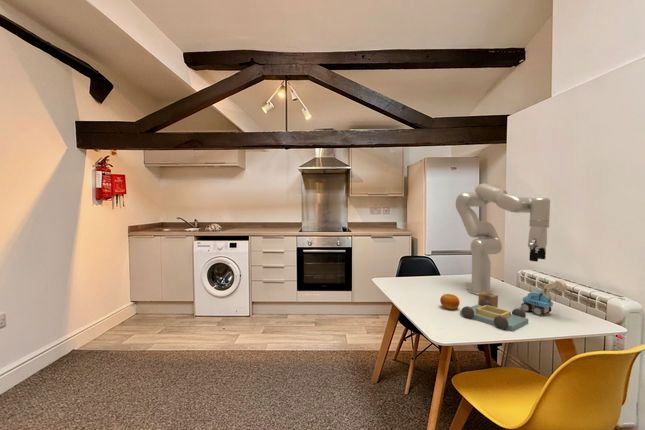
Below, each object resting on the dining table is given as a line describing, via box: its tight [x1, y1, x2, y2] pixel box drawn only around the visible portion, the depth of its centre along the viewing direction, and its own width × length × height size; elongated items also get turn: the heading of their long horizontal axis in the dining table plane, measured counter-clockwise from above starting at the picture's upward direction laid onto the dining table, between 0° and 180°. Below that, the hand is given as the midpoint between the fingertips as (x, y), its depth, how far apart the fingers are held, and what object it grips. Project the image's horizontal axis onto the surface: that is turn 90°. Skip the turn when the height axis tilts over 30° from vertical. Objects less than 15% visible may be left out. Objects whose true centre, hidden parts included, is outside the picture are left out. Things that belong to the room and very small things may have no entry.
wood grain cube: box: [477, 292, 499, 308], centre depth 151 cm, size 7×5×6 cm
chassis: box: [459, 300, 529, 332], centre depth 134 cm, size 22×18×5 cm
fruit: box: [440, 293, 460, 310], centre depth 148 cm, size 8×8×8 cm
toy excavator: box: [520, 279, 568, 317], centre depth 140 cm, size 9×17×17 cm, turn 27°
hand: (537, 259), depth 143 cm, fingers open, 9 cm apart
